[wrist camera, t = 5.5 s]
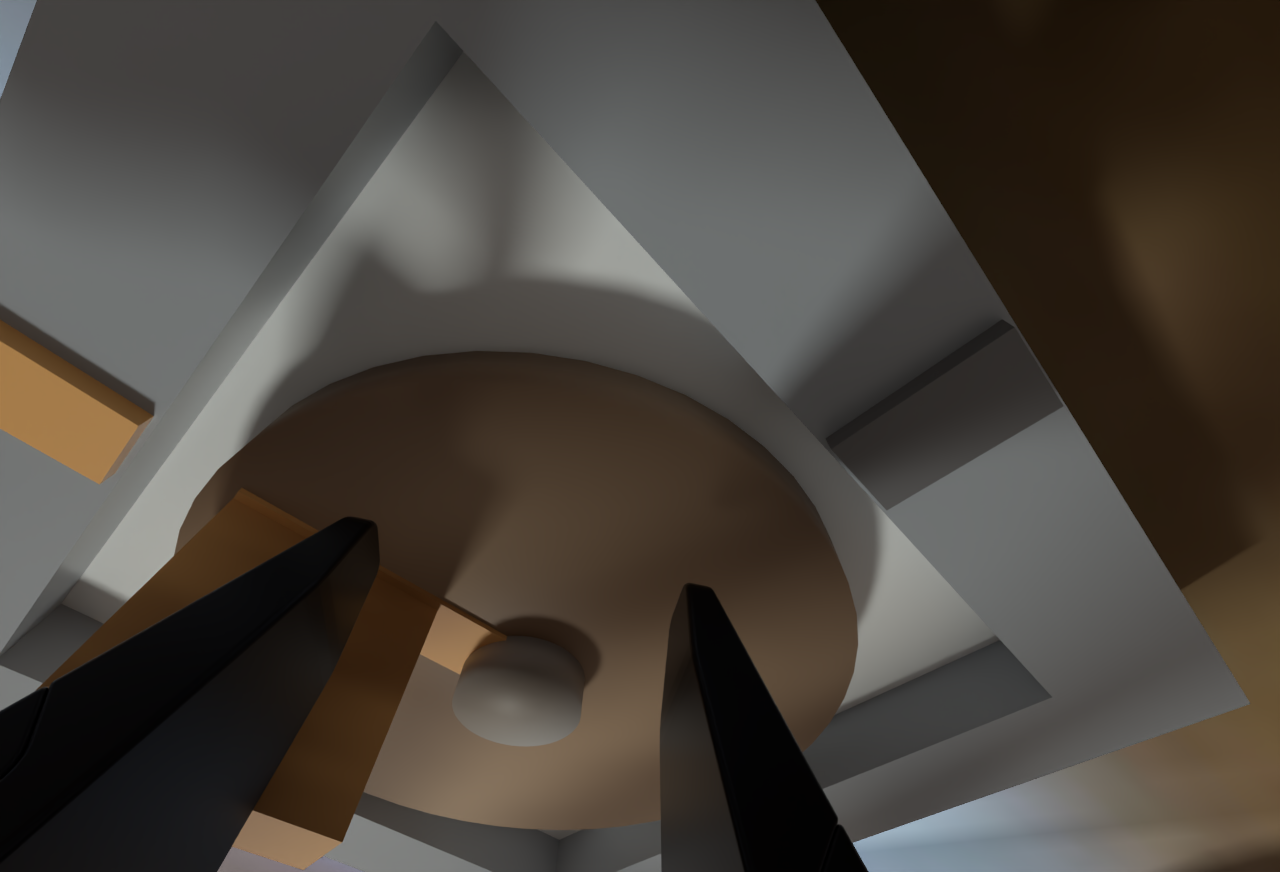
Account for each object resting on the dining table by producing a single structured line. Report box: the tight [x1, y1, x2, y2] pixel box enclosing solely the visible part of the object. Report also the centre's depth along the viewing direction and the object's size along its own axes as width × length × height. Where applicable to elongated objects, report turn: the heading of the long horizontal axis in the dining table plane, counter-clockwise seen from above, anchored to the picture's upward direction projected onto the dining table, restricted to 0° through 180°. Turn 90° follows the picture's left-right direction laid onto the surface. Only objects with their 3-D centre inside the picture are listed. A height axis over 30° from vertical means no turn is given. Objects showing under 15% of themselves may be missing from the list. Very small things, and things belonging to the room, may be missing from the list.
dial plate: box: [0, 0, 1250, 872], centre depth 13 cm, size 22×22×3 cm
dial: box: [35, 351, 858, 870], centre depth 11 cm, size 14×14×5 cm
